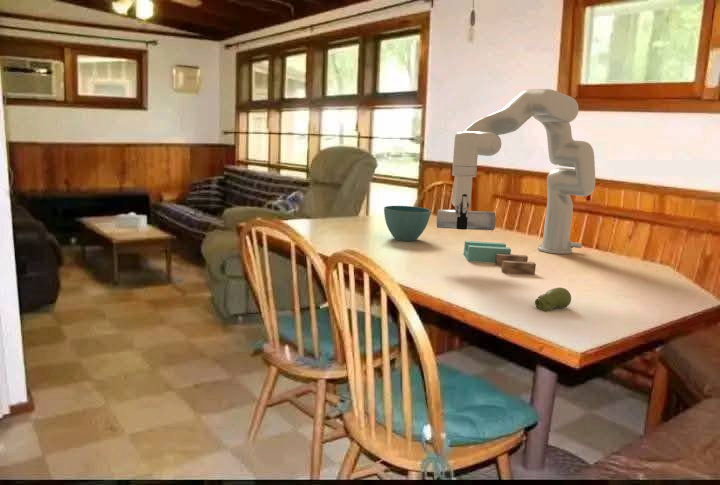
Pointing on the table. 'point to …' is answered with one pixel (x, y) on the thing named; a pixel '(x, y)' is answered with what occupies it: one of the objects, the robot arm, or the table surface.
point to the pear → (553, 299)
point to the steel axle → (474, 221)
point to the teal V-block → (484, 251)
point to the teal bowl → (406, 221)
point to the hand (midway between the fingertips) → (460, 226)
